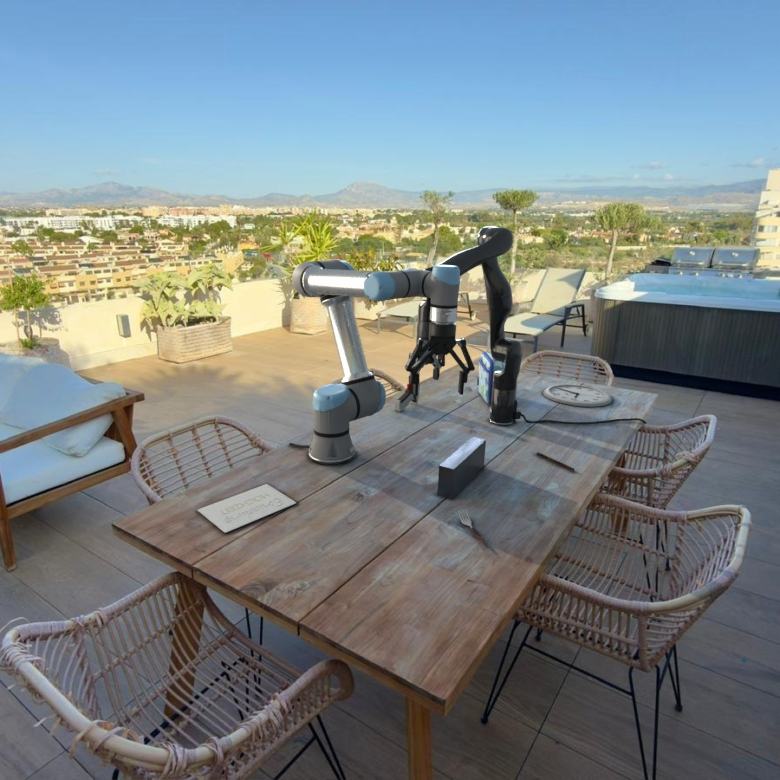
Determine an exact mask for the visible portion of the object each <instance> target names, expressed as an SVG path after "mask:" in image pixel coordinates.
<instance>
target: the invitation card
mask: <svg viewBox="0 0 780 780" xmlns="http://www.w3.org/2000/svg"><path fill="white" fill-rule="evenodd" d="M296 504H297V501H295V500H294V499H291V498H290V497H289V496H287V495H285V494H283V493H282V492H280V491H279V490H277V489H276V488H274V487H273V486H271V485H269V484H267V483H265V484H263V485H260V486H257V487H254V488H251V489H249V490H245V491H244V492H241V493H238V494H235V495H232V496H230V497H227V498H224V499H222V500H219V501H216V502H214V503H211V504H209V505H206V506H203V507H201V508H198V509H197V510H196V511H197V512H198V513H200V514H201V515H202V516H203V517H205V519H207V520H209V522H211V523H212V524H213V525H215V526H216V527H217V528H218V529H219V530H221V532H223V533H224V534H227V533H229V532H231V531H234V530H236V529H239V528H241V527H243V526H246V525H248V524H251V523H253V522H256V521H258V520H260V519H263V518H265V517H267V516H270V515H272V514H275V513H277V512H279V511H281V510H284V509H287V508H289V507H291V506H294V505H296Z"/></svg>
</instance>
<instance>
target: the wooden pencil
mask: <svg viewBox="0 0 780 780" xmlns="http://www.w3.org/2000/svg"><path fill="white" fill-rule="evenodd" d="M535 455H536V456H538V457H541V458H543V459H545V460H547V461H549V462H552V463H553V464H555V465H558V466H560V467H562V468H564V469H566V470H569V471H571V472H575V468H574V467H572V466H570V465H567V464H566V463H564V462H561V461H558V460H557V459H554V458H552V457H549V456H548V455H546V454H543V453H541V452H539V451H537V452H536V454H535Z"/></svg>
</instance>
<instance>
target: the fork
mask: <svg viewBox="0 0 780 780" xmlns="http://www.w3.org/2000/svg"><path fill="white" fill-rule="evenodd" d="M457 512H458V516H459V519H460V521H461V523H462V524H463V525H464V526H468V527H469V528H470V529H471V531H472V533H473V534H474V537H476V539H478V541H480V543H481V544H482V545H483V546H484V547H485V548H486V549H489V547H488V545H487V543H486V541H485V540H484V539H483V537H482V535H481V534H480V532H479V531H477V529H475V528H474V527H473V525H472V519H471V518H470V516H469V514H468V511H467V510H464V509H462V510H459V509H457ZM465 512H466V513H465Z"/></svg>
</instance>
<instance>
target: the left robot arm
mask: <svg viewBox="0 0 780 780" xmlns="http://www.w3.org/2000/svg"><path fill="white" fill-rule="evenodd" d="M433 266H434V265H433ZM291 276H292V277H291V284H292V287H293V288H294V290H295V291H296V292H297V293H298V294H299V295H301V296H303V297H305V298H319V301H320V305H322V306H323V307H325V308H326V311H327V314H328V318H329V323H330V327H331V330H332V334H333V339H334V342H335V346H336V351H337V356H338V359H339V363H340V367H341V370H342V375H343V377H342V379H341V381H340V383H329V384H324V385H322V386H320V387H318V388H316V389H315V390H314V392H313V395H312V404H311V405H312V411H313V412H312V419H313V422H312V423H313V435H312V439H311V442H310V444H309V445H308V444H296V443H293V442H289V443H288V445H289V446H290V447H294V448H299V449H308V458H309V460H311V462H314V463H317V464H319V465H328V466H330V465H331V466H333V465H334V466H335V465H341V464H345V463H348V462H351V461H352V460H353V459H354V458H355V457H356V448H355V447H356V446H355V445H354V444H353V440H352V437H351V434H350V423H351V422H355V421H357V420H360V419H363V418H366V417H372V416H373V415H375V414H377V413H379V412H381V410H382V409H384V406H385V405H386V400H387V393H386V389H385V386H384V385H383V384H382V382H381V381H380V380H378V379H376V377H375V374H374V373H373V372H371V371H370V370H369V367H368V364H367V360H366V355H365V353H364V348H363V343H362V339H361V335H360V332H359V328H358V324H357V319H356V315H355V312H354V311H355V310H354V306H353V303H352V302H353V300H354V298H364V299H369V300H370V301H373V302H385V301H390V300H398V299H408V298H416V297H417V298H425V299H426V298H430V299H431V308H430V320H431V322H430V323H429V337H428V339H427V340H425V339H421V338H418V339H417V345H416V344H415V347H414V349H413V351H412V352H411V353H412V354H411V356H410V358H409V357H408V360H407V362H406V363H405V365H404V369H405V371H406V372H408V373H410V372H411V379H410V381H411V383H412V384H414V387H413V393H414V395H415V396H418V380H420V377H419V374H418V372H417V371H418V370H419V369H420V368H421V367H422V366H423V365H424V363H425V362H426V361H427V360H428V359H429V358H430V357H431V356H433V354H436V355H437V356H438V355H441V354H443V355H445V356H448V355H451V357H452V358H453V359H454V361H455V362H456V363H457V365H458V366H459V367H460V368H461V370H459V374H458V387H457V392H458V393H459V395H460V396H461V395H462V396H463V395H464V391H465V384H467V383H468V377H469V374H470V372H473V371H475V370H476V367H475V365H474V363H473V360H472V357H471V354H470V353H469V350H468V348H467V340H466V339H465V338H463V337H460V339H458V338H457V339H456V334H457V324H456V322H457V321H458V319H457V318H458V305H459V304H458V303H459V295H460V294H459V292H460V286H461V276H460V269H459V268H458V267H457V266H453V265H437V264H435V266H434V267H433V271H425V269H418V268H403V269H402V270H393V271H392V270H391V271H389V270H388V271H382V270H379V271H378V270H357V269H356V270H355V267H354V266H353V264H351V263H349V262H348V261H346V260H341V259H330V260H329V259H328V260H327V259H326V260H308V261H304V262H302V263H300V264H299V265H297V266H296V267H295V268H294V270H293V272H292V275H291ZM425 344H427V345H428V346H429V348H428V349H427V350H426V352H425V353H424V354H423V355H422V357H421V358H420V359H419V360H418V361H417V362H416V363H415V364H414V362H415V361H416V359H417V357H418V355H419V353H420V352H421V350H422V347H424V346H425ZM456 346H458V347H459V348H460V350H461V353H462V356H463V357H464V360H465V362H466V364H465V363H464V362H463V361H462V359H461V358H460V357H459V356H458V354H457V353H456V352H455V350H454V348H455V347H456ZM413 364H414V365H413ZM412 366H413V367H412ZM424 366H425V365H424ZM421 369H422V368H421Z"/></svg>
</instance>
